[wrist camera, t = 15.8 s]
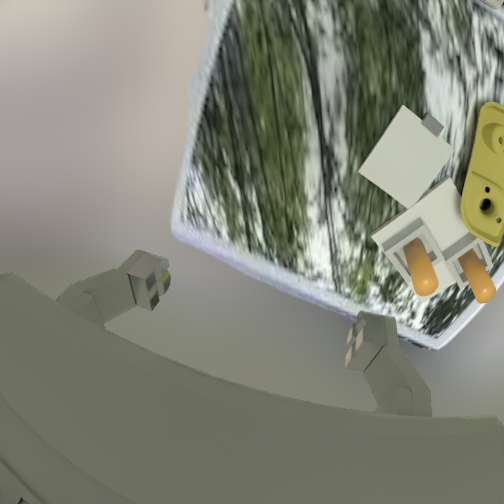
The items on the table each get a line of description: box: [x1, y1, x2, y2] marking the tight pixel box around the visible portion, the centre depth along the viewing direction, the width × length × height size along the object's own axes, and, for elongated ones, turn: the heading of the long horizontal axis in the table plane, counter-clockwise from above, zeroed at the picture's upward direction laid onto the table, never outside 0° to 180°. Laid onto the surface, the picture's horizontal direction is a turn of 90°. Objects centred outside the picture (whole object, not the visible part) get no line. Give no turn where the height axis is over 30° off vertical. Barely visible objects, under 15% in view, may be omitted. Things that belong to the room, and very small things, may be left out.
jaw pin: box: [403, 237, 439, 296], centre depth 34 cm, size 4×4×10 cm
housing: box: [371, 175, 496, 303], centre depth 33 cm, size 16×18×11 cm
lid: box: [358, 105, 455, 209], centre depth 32 cm, size 14×10×1 cm
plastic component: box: [461, 102, 504, 247], centre depth 26 cm, size 20×7×10 cm
